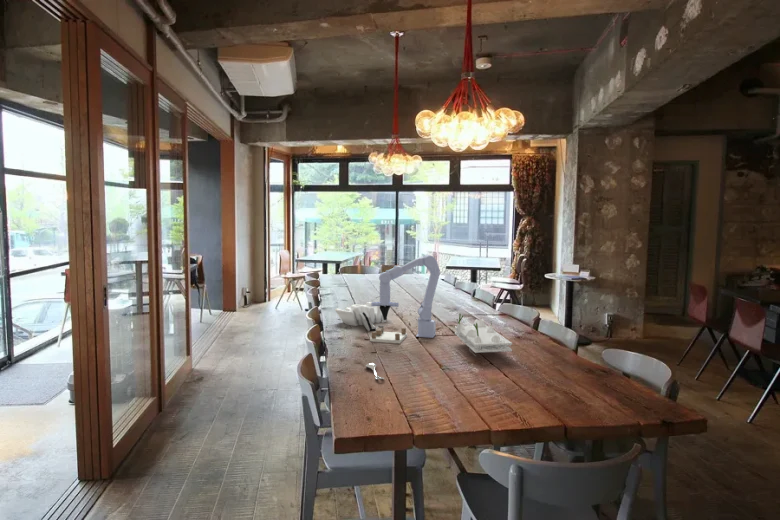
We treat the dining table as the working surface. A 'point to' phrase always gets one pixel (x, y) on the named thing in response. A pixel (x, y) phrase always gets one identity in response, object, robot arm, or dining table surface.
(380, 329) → the hammer
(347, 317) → the wavy white extrusion
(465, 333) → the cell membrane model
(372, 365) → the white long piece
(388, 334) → the stool seat
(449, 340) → the dining table surface
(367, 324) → the hinge
